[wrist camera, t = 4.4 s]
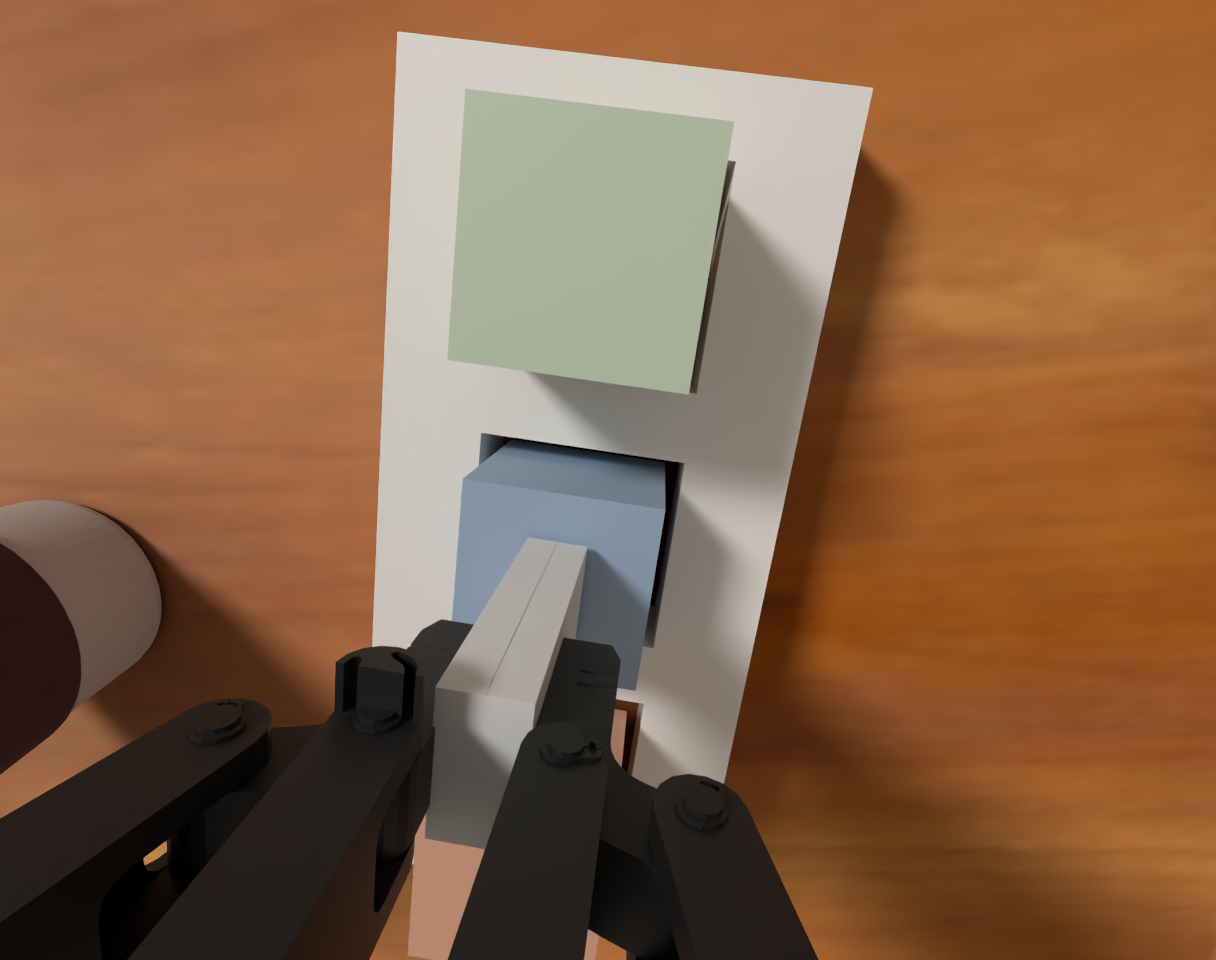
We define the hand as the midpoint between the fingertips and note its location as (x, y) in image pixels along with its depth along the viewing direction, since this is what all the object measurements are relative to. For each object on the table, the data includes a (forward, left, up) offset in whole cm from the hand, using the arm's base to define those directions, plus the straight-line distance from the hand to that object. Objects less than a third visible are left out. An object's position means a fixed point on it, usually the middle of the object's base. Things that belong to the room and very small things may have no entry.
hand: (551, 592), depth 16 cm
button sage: (0, +8, -4) cm, 9 cm away
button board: (0, 0, -7) cm, 7 cm away
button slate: (0, 0, -6) cm, 6 cm away
